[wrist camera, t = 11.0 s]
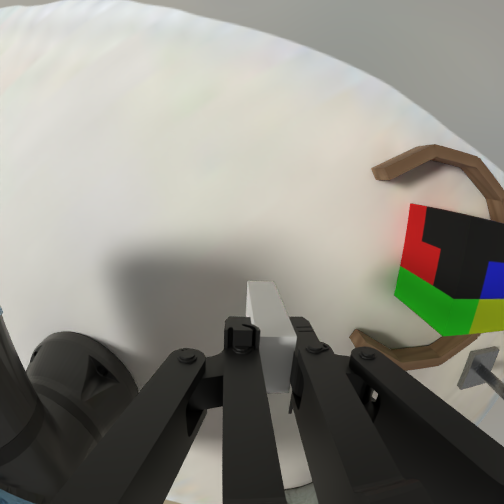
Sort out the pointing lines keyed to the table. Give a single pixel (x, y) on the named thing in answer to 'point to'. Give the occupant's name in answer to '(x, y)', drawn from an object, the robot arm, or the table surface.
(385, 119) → the table surface
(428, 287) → the puzzle toy
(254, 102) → the table surface
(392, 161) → the rim
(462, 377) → the dial gauge stand
